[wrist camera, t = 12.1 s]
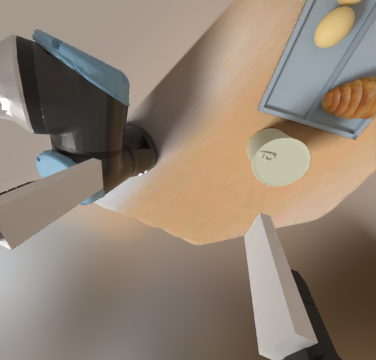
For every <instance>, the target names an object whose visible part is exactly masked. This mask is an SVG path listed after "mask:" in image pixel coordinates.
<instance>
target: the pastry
mask: <svg viewBox="0 0 376 360" xmlns="http://www.w3.org/2000/svg"><path fill="white" fill-rule="evenodd" d="M322 107H323V109H324V111H325V113H328V114H332V115H334V116H337V117H343V118H345V119H348V120H350V119H369V118H370V119H374V118H376V76H371V77H363V78H361V79H358V80H355V81H352V82H349V83H346V84H343V85H340V86H337V87H335V88H333V89H332V90H330V91H329V92H327V93H326V94H325V95H324V96H323V99H322Z"/></svg>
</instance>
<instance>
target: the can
mask: <svg viewBox="0 0 376 360" xmlns="http://www.w3.org/2000/svg"><path fill="white" fill-rule="evenodd" d="M247 155H248V157H249V159H250V161H251V164H252V169H253V173H254V175H255V176H256V178H257V179H258V180H260V181H261V182H262V183H264V184H267V185H270V186H284V185H288V184H291V183H293V182H295V181H297V180H298V179H300V178H301V177H302V176H303V175H304V174H305V173H306V172H307V170H308V168H309V166H310V163H311V153H310V151H309V148H308V147H307V146H306V145H305V144H304V143H303V142H302V141H300V140H298V139H295V138H292V137H290V136H289V135H287V134H285V133H284V132H283V131H281V130H279V129H276V128H267V129H263V130H260V131H259V132H257V133H256V134H254V135H253V136H252V137H251V139H250V140H249V142H248V145H247Z"/></svg>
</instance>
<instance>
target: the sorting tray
mask: <svg viewBox="0 0 376 360" xmlns="http://www.w3.org/2000/svg"><path fill="white" fill-rule="evenodd" d="M338 7H343V6H341V5H340V4H338V2H337V0H306V3H305V5H304V7H303V9H302V11H301V14H300V16H299V18H298V20H297V22H296V25H295V27H294V29H293V31H292V33H291V36H290V38H289V40H288V42H287V44H286V47H285V49H284V51H283V53H282V55H281V58H280V60H279V62H278V64H277V66H276V69H275V71H274V73H273V75H272V77H271V80H270V82H269V84H268V86H267V88H266V91H265V93H264V95H263V97H262V99H261V102H260V104H259V106H258V108H257V110H259V111H262V112H265V113H268V114H272V115H275V116H278V117H282V118H285V119H288V120H292V121H295V122H298V123H301V124H305V125H308V126H311V127H315V128H318V129H321V130H325V131H328V132H331V133H334V134H338V135H341V136H344V137H348V138H351V139H355V140H356V138H357V137H358V136H359V135H360V134H361V132H362V131H363V130H364V129H365V128H366V126H367V125H368V124H369V123H370V122H371V121H372V119H370V118H369V119H350V120H348V119H345V118H343V117H337V116H334V115H332V114H328V113H325V111H324V109H323V107H322V99H323V96H324V95H325V94H326V93H327V92H329V91H330V90H332V89H333V88H335V87H337V86H340V85H343V84H346V83H349V82H352V81H355V80H358V79H361V78H363V77H371V76H376V0H362V1H360V2H358V3H357V4H354V5H352V6H347V7H350V8H351V9H353V11H354V14H355V20H354V24H353V26H352V28H351V30H350V32H349V33H348V34H347V36H346V37H345V38H344V39H343V40H342V41H340V42H339V43H337V44H336V45H334V46H332V47H329V48H320V47H318V46H317V45H316V44H315V42H314V34H315V30H316V28H317V26H318V24H319V23H320V21H321V20H322V19H323V18H324V17H325V16H326V15H327V14H328V13H329V12H331V11H332V10H334V9H336V8H338Z"/></svg>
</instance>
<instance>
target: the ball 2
mask: <svg viewBox="0 0 376 360" xmlns="http://www.w3.org/2000/svg"><path fill="white" fill-rule="evenodd" d="M360 1H362V0H337V2H338V4H340V5H341V6H352V5H354V4H357V3H358V2H360Z"/></svg>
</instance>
